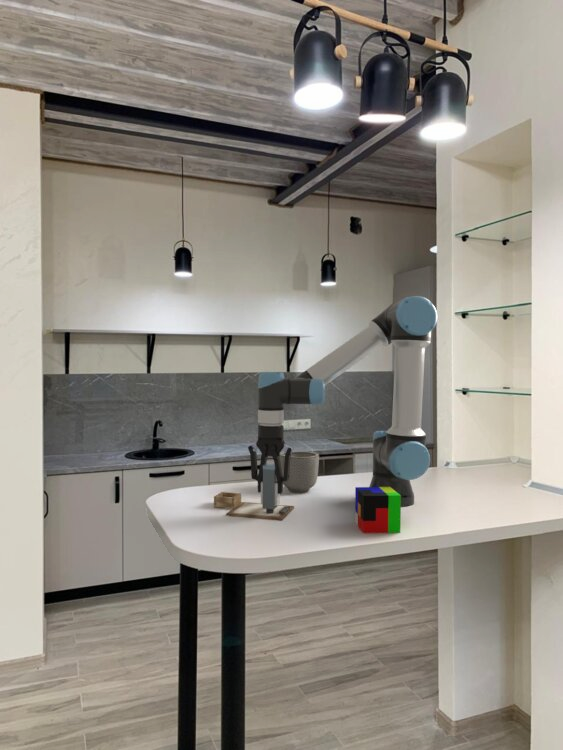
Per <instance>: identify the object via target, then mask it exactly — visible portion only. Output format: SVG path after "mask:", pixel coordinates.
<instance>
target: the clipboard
mask: <svg viewBox="0 0 563 750" xmlns="http://www.w3.org/2000/svg"><path fill="white" fill-rule="evenodd" d="M294 508H295V505H288V504H287V505H286V504H278V505H277V507H276V508H275V509H274V513H271V514H269V513H266V509H263V505H262V504H261V502H260V503H259V502H247V501H241V503H240V504H239V505H237V506H236V507H235V508H233V509H229V511H227V512H226V514H225V516H226V515H229V516H228V517H237V516H238V517H239V518H240V517H241V518H251V519H261V520H273V521H274V520H276V521H283V520H284V519H286V517H287V516H288V515H289V514H290V513H291V512H292V511H293V510H294Z"/></svg>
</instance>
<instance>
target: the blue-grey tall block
mask: <svg viewBox="0 0 563 750" xmlns="http://www.w3.org/2000/svg"><path fill="white" fill-rule="evenodd" d="M276 482H277V476H276V470H275V464H274V463H266V464H265V465H263V509H266V513H269V514H271V513H274V509H275V508H276V507H277V506H275V483H276Z"/></svg>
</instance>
